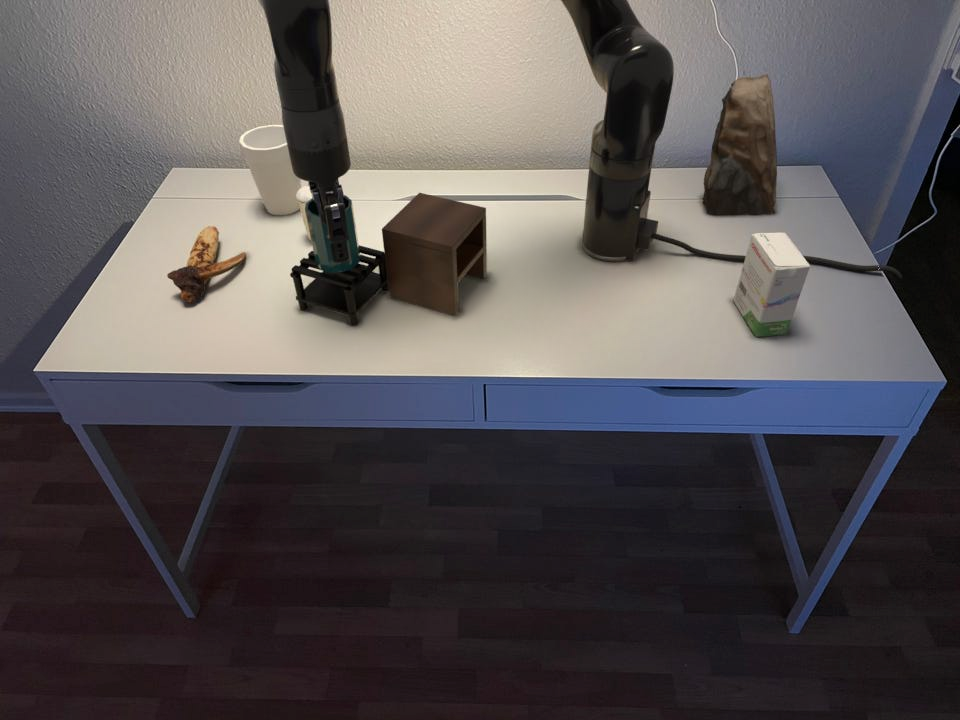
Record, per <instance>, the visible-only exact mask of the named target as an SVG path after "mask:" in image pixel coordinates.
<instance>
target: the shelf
mask: <svg viewBox="0 0 960 720" xmlns="http://www.w3.org/2000/svg"><path fill="white" fill-rule="evenodd" d="M381 235H382V241H383V242H382V245H383V252H384V253H385V260H386V268H387V276H388V284H389V291H388V292H389V297H390V299H391V298H392V299H394V300H398V301H401V302H404V303H405V302H406V303H409V304H412V305H415V306H418V307H422V308H427V309H429V310H433V311H437V312H440V313H443V314H448V315H449V316H450V315H451V316H454V317H456V316H457V315H458V313H459V312H460V307H459V305H460V304H459V285H458V284H459V282H461V280H462V279H463V278H464V277H465V276H470V277H473V278H477V279H480V280H485V279H486V278H487V276H488V266H487V265H488V263H487V261H488V257H487V256H488V255H487V253H488V252H487V250H488V249H487V248H488V247H487V207H484V206H480V205H476V204H471V203H466V202H462V201H459V200H453V199H449V198H446V197H442V196H441V197H440V196H437V195H432V194H427V193H423V192H418V194H416V195H415V196H414V197H413V198H412V199H411V200H410V201H409V202H408V203H407V204H406V205H405V206H404V207H403V208H402V209H401V210H399V211H398V212H397V214H395V215H394V216H393V217H392V218H391V219H390V220H389V221H388V222H387V223H386V224H385V225H384V226H383V227H382V228H381Z"/></svg>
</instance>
